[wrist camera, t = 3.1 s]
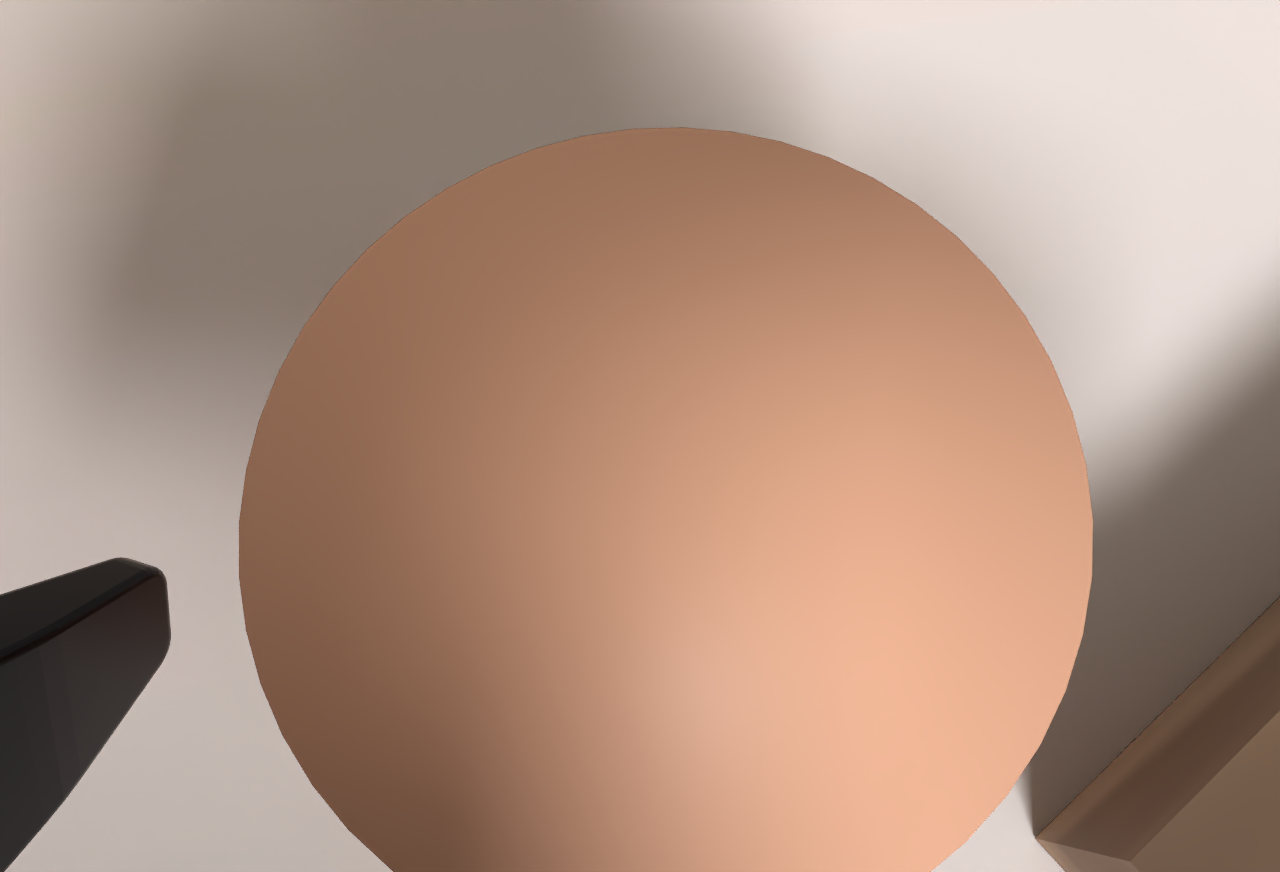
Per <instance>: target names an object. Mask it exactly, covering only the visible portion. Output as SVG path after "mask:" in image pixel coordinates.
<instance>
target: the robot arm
mask: <svg viewBox="0 0 1280 872" xmlns="http://www.w3.org/2000/svg"><path fill="white" fill-rule="evenodd" d="M170 640H171V628H170V616H169V603H168V591H167V581H166V577H165V576H164V574H163V572H162V571H161V570H159V569H158V568H156V567H153V566H150V565H147V564H144V563H141V562H138V561H135V560H132V559H128V558H114V559H110V560H107V561H104V562H100V563H97V564H94V565H91V566H88V567H85V568H82V569H79V570H76V571H72V572H69V573H66V574H63V575H60V576H57V577H54V578H51V579H48V580H44V581H41V582H38V583H35V584H32V585H29V586H26V587H23V588H20V589H16V590H13V591H10V592H7V593H4V594H1V595H0V872H4V871H5V870H6V869H7V868H8V867H9V866H10V864H11V863H12V862H13V861H14V860H15V859H16V857H17V856H18V855H19V854H20V853H21V852H22V850H23V849H24V848H25V847H26V846H27V845H28V843H29V842H30V841H31V840H32V839H33V838H34V836H35V835H36V834H37V833H38V832H39V831H40V829H41V828H42V827H43V826H44V825H45V824H46V822H47V821H48V820H49V819H50V818H51V816H52V815H53V814H54V813H55V811H56V810H57V809H58V808H59V807H60V805H61V804H62V803H63V802H64V801H65V799H66V798H67V797H68V795H69V794H70V793H71V791H72V790H73V789H74V787H75V786H76V785H77V783H78V782H79V780H80V779H81V778H82V776H83V775H84V774H85V772H86V771H87V769H88V768H89V766H90V765H91V764H92V762H93V761H94V759H95V758H96V756H97V755H98V754H99V752H100V751H101V749H102V748H103V746H104V745H105V744H106V742H107V741H108V739H109V738H110V736H111V735H112V734H113V732H114V731H115V729H116V728H117V727H118V725H119V724H120V722H121V721H122V719H123V718H124V717H125V715H126V714H127V712H128V711H129V709H130V708H131V707H132V705H133V704H134V702H135V701H136V699H137V698H138V697H139V695H140V694H141V692H142V691H143V689H144V688H145V687H146V685H147V684H148V682H149V681H150V679H151V678H152V677H153V675H154V674H155V672H156V671H157V670H158V668H159V667H160V665H161V664H162V662H163V660H164V658H165V656H166V654H167V652H168V649H169V646H170Z"/></svg>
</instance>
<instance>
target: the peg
mask: <svg viewBox="0 0 1280 872" xmlns="http://www.w3.org/2000/svg"><path fill="white" fill-rule="evenodd" d="M1092 550H1093V517H1092V508H1091V500H1090V492H1089V484H1088V476H1087V467H1086V462H1085V458H1084V455H1083V451H1082V447H1081V443H1080V439H1079V436H1078V432H1077V428H1076V424H1075V420H1074V417H1073V413H1072V410H1071V408H1070V405H1069V403H1068V400H1067V398H1066V395H1065V393H1064V391H1063V388H1062V386H1061V383H1060V381H1059V378H1058V376H1057V374H1056V371H1055V369H1054V366H1053V364H1052V362H1051V360H1050V358H1049V356H1048V355H1047V353H1046V351H1045V349H1044V348H1043V346H1042V344H1041V342H1040V341H1039V339H1038V337H1037V335H1036V334H1035V332H1034V330H1033V328H1032V327H1031V325H1030V323H1029V321H1028V320H1027V318H1026V316H1025V315H1024V313H1023V312H1022V311H1021V309H1020V308H1019V307H1018V306H1017V304H1016V303H1015V302H1014V300H1013V299H1012V298H1011V296H1010V295H1009V294H1008V292H1007V291H1006V290H1005V288H1004V287H1003V286H1002V284H1001V283H1000V282H999V281H998V279H997V278H996V277H995V275H994V274H993V273H992V272H991V271H990V270H989V269H988V268H987V267H986V266H985V265H984V264H983V263H982V262H981V261H980V260H979V259H978V258H977V257H976V256H975V254H974V253H973V252H972V251H971V250H970V249H969V248H968V247H967V246H966V245H965V244H964V243H963V242H962V241H961V240H960V239H959V238H958V237H957V236H956V235H954V234H953V233H952V232H951V231H949V230H948V229H947V228H946V227H944V226H943V225H942V224H940V223H939V222H938V221H937V220H935V219H934V218H933V217H932V216H930V215H929V214H928V213H927V212H925V211H924V210H923V209H922V208H920V207H919V206H918V205H917V204H915V203H913V202H912V201H910V200H908V199H907V198H905V197H904V196H902V195H900V194H899V193H897V192H895V191H894V190H892V189H891V188H889V187H887V186H886V185H884V184H882V183H881V182H879V181H877V180H876V179H874V178H872V177H870V176H868V175H866V174H864V173H861V172H859V171H857V170H855V169H853V168H851V167H848V166H846V165H844V164H842V163H840V162H838V161H835V160H833V159H831V158H829V157H826V156H823V155H820V154H817V153H814V152H811V151H808V150H805V149H802V148H799V147H796V146H792V145H789V144H786V143H783V142H780V141H775V140H770V139H765V138H760V137H755V136H750V135H746V134H741V133H736V132H729V131H718V130H706V129H694V128H683V127H682V128H646V129H629V130H622V131H614V132H607V133H600V134H593V135H586V136H581V137H578V138H574V139H570V140H566V141H562V142H558V143H554V144H551V145H547V146H543V147H539V148H536V149H533V150H530V151H528V152H525V153H523V154H520V155H517V156H515V157H512V158H510V159H507V160H504V161H502V162H499V163H497V164H494V165H491V166H489V167H487V168H485V169H483V170H481V171H480V172H478V173H476V174H474V175H472V176H470V177H468V178H466V179H464V180H462V181H460V182H458V183H456V184H455V185H453V186H451V187H449V188H447V189H445V190H444V191H442V192H441V193H439V194H438V195H436V196H435V197H433V198H432V199H430V200H429V201H428V202H426V203H425V204H423V205H422V206H420V207H419V208H417V209H416V210H414V211H413V212H411V213H410V214H408V215H407V216H405V217H404V218H403V219H402V220H401V221H399V222H398V223H397V224H396V225H395V226H394V227H392V228H391V229H390V230H389V231H388V232H387V233H385V234H384V235H383V236H382V237H381V238H380V239H378V240H377V241H376V242H375V243H374V244H373V245H371V246H370V247H369V248H368V249H367V250H366V251H365V252H364V253H363V254H362V255H361V256H360V258H359V259H358V260H357V261H356V262H355V263H354V264H353V265H352V266H351V267H350V268H349V269H348V271H347V272H346V273H345V274H344V275H343V276H342V277H341V278H340V279H339V280H338V281H337V282H336V284H335V285H334V286H333V287H332V288H331V290H330V291H329V293H328V294H327V295H326V297H325V298H324V300H323V301H322V302H321V304H320V305H319V306H318V308H317V309H316V311H315V312H314V313H313V315H312V316H311V317H310V319H309V320H308V322H307V323H306V324H305V326H304V327H303V329H302V331H301V333H300V334H299V336H298V338H297V340H296V342H295V343H294V345H293V347H292V349H291V351H290V352H289V354H288V356H287V358H286V360H285V361H284V363H283V365H282V367H281V369H280V370H279V372H278V375H277V377H276V380H275V382H274V385H273V387H272V390H271V392H270V395H269V397H268V400H267V402H266V405H265V407H264V410H263V412H262V415H261V417H260V420H259V423H258V427H257V431H256V435H255V438H254V442H253V446H252V450H251V453H250V457H249V461H248V465H247V468H246V475H245V482H244V490H243V497H242V505H241V512H240V520H239V580H240V587H241V595H242V603H243V610H244V618H245V626H246V632H247V635H248V639H249V643H250V646H251V650H252V654H253V658H254V661H255V665H256V669H257V672H258V676H259V680H260V683H261V686H262V688H263V691H264V693H265V695H266V698H267V700H268V702H269V705H270V707H271V709H272V712H273V714H274V716H275V719H276V721H277V724H278V726H279V728H280V731H281V733H282V735H283V737H284V739H285V740H286V742H287V744H288V745H289V747H290V749H291V750H292V752H293V754H294V755H295V757H296V759H297V760H298V762H299V764H300V765H301V767H302V769H303V770H304V772H305V774H306V775H307V777H308V779H309V780H310V782H311V784H312V785H313V787H314V788H315V789H316V790H317V792H318V793H319V794H320V795H321V796H322V798H323V799H324V800H325V801H326V803H327V804H328V805H329V806H330V808H331V809H332V810H333V811H334V813H335V814H336V815H337V816H338V817H339V819H340V820H341V821H342V822H343V824H344V825H345V826H346V827H347V829H348V830H349V831H350V832H351V833H352V834H353V835H354V836H356V837H357V838H358V839H359V840H360V841H361V842H362V843H363V844H364V845H365V846H366V847H367V848H368V849H370V850H371V851H372V852H373V853H374V854H375V855H376V856H377V857H378V858H379V859H380V860H381V861H382V862H384V863H385V864H386V865H387V866H388V867H389V868H390V869H391V870H392V871H393V872H931V871H932V870H933V869H934V868H935V867H937V866H938V865H939V864H940V863H941V862H943V861H944V860H945V859H946V858H947V857H949V856H950V855H951V854H952V853H953V852H955V851H956V850H957V849H958V848H959V847H960V846H962V845H963V844H964V843H965V842H966V841H967V840H968V839H969V838H970V837H971V836H972V834H973V833H974V832H975V831H976V830H977V829H978V828H979V827H980V825H981V824H982V823H983V822H984V821H985V820H986V819H987V818H988V817H989V815H990V814H991V813H992V812H993V811H994V810H995V809H996V808H997V806H998V805H999V804H1000V803H1001V802H1002V801H1003V800H1004V799H1005V797H1006V796H1007V795H1008V793H1009V792H1010V790H1011V789H1012V787H1013V786H1014V784H1015V783H1016V781H1017V780H1018V778H1019V777H1020V775H1021V774H1022V772H1023V771H1024V769H1025V768H1026V766H1027V765H1028V763H1029V762H1030V760H1031V758H1032V757H1033V755H1034V754H1035V752H1036V751H1037V749H1038V748H1039V746H1040V745H1041V743H1042V740H1043V738H1044V736H1045V734H1046V732H1047V730H1048V728H1049V726H1050V723H1051V721H1052V719H1053V717H1054V715H1055V713H1056V711H1057V709H1058V706H1059V704H1060V702H1061V700H1062V698H1063V696H1064V694H1065V692H1066V689H1067V685H1068V682H1069V679H1070V676H1071V672H1072V669H1073V666H1074V663H1075V659H1076V656H1077V653H1078V649H1079V646H1080V643H1081V640H1082V636H1083V632H1084V625H1085V619H1086V613H1087V606H1088V600H1089V594H1090V587H1091V581H1092Z"/></svg>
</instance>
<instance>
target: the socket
mask: <svg viewBox="0 0 1280 872" xmlns="http://www.w3.org/2000/svg"><path fill="white" fill-rule="evenodd" d="M1035 839H1036V840H1037V841H1038V842H1039V843H1040V844H1041V846H1042V847H1043V848H1044V849H1045V850H1046V851H1047V852H1048V853H1049V854H1050V855H1051V856H1052V858H1053V859H1054V860H1055V861H1056V862H1057V863H1058V864H1059V865H1060V866H1061V867H1062V868H1063V870H1064V871H1065V872H1280V597H1279V598H1278V599H1277V600H1276V601H1275V602H1274V603H1273V604H1272V605H1271V606H1270V607H1269V608H1268V609H1267V610H1266V611H1265V612H1264V613H1263V614H1262V615H1261V616H1260V617H1259V618H1258V619H1257V620H1256V621H1255V622H1254V623H1253V624H1252V625H1251V626H1250V627H1249V628H1248V629H1247V630H1246V631H1245V632H1244V633H1243V634H1242V635H1241V636H1240V637H1239V638H1238V639H1237V640H1236V641H1235V642H1233V643H1232V644H1231V645H1230V646H1229V647H1228V648H1227V649H1226V650H1225V651H1224V652H1223V653H1222V654H1221V655H1220V656H1219V657H1218V658H1217V659H1216V660H1215V661H1214V662H1213V663H1212V664H1211V665H1210V666H1209V667H1208V668H1207V669H1206V670H1205V671H1204V672H1203V673H1202V674H1201V675H1200V676H1199V677H1198V678H1197V679H1196V680H1195V681H1194V682H1193V683H1192V684H1191V685H1190V686H1189V687H1188V688H1187V689H1186V690H1185V691H1184V692H1183V693H1182V694H1181V695H1180V696H1179V697H1178V698H1177V699H1176V700H1175V701H1174V702H1173V703H1172V704H1171V705H1170V706H1169V707H1168V708H1166V709H1165V710H1164V711H1163V712H1162V713H1161V714H1160V715H1159V716H1158V717H1157V718H1156V719H1155V720H1154V721H1153V722H1152V723H1151V724H1150V725H1149V726H1148V727H1147V728H1146V729H1145V730H1144V731H1143V732H1142V733H1141V734H1140V735H1139V736H1138V737H1137V738H1136V739H1135V740H1134V741H1133V742H1132V743H1131V744H1130V745H1129V746H1128V747H1127V748H1126V749H1125V750H1124V751H1123V752H1122V753H1121V754H1120V755H1119V756H1118V757H1117V758H1116V759H1115V760H1114V761H1113V762H1112V763H1111V764H1110V765H1109V766H1108V767H1107V768H1106V769H1105V770H1104V771H1103V772H1102V773H1100V774H1099V775H1098V776H1097V777H1096V778H1095V779H1094V780H1093V781H1092V782H1091V783H1090V784H1089V785H1088V786H1087V787H1086V788H1085V789H1084V790H1083V791H1082V792H1081V793H1080V794H1079V795H1078V796H1077V797H1076V798H1075V799H1074V800H1073V801H1072V802H1071V803H1070V804H1069V805H1068V806H1067V807H1066V808H1065V809H1064V810H1063V811H1062V812H1061V813H1060V814H1059V815H1058V816H1057V817H1056V818H1055V819H1054V820H1053V821H1052V822H1051V823H1050V824H1049V825H1048V826H1047V827H1046V828H1045V829H1044V830H1043V831H1042V832H1041V833H1040V834H1039V835H1038V836H1037V837H1036V838H1035Z"/></svg>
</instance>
